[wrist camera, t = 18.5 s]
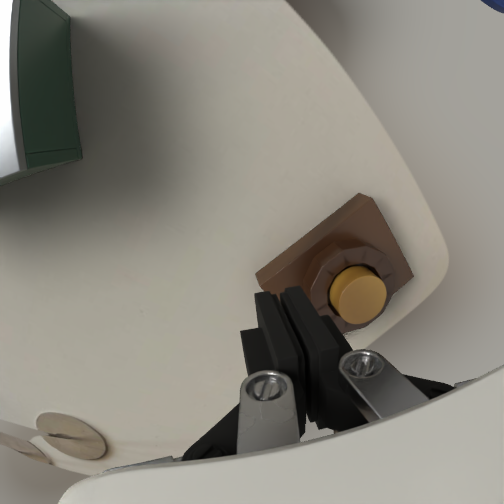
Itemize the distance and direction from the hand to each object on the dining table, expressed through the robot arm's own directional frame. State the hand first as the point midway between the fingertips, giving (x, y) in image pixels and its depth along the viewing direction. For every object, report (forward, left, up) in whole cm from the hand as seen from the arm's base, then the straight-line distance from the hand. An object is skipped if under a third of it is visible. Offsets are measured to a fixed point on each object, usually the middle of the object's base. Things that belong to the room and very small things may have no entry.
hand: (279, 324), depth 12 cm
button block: (-7, +4, -12) cm, 15 cm away
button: (-7, +4, -9) cm, 12 cm away
